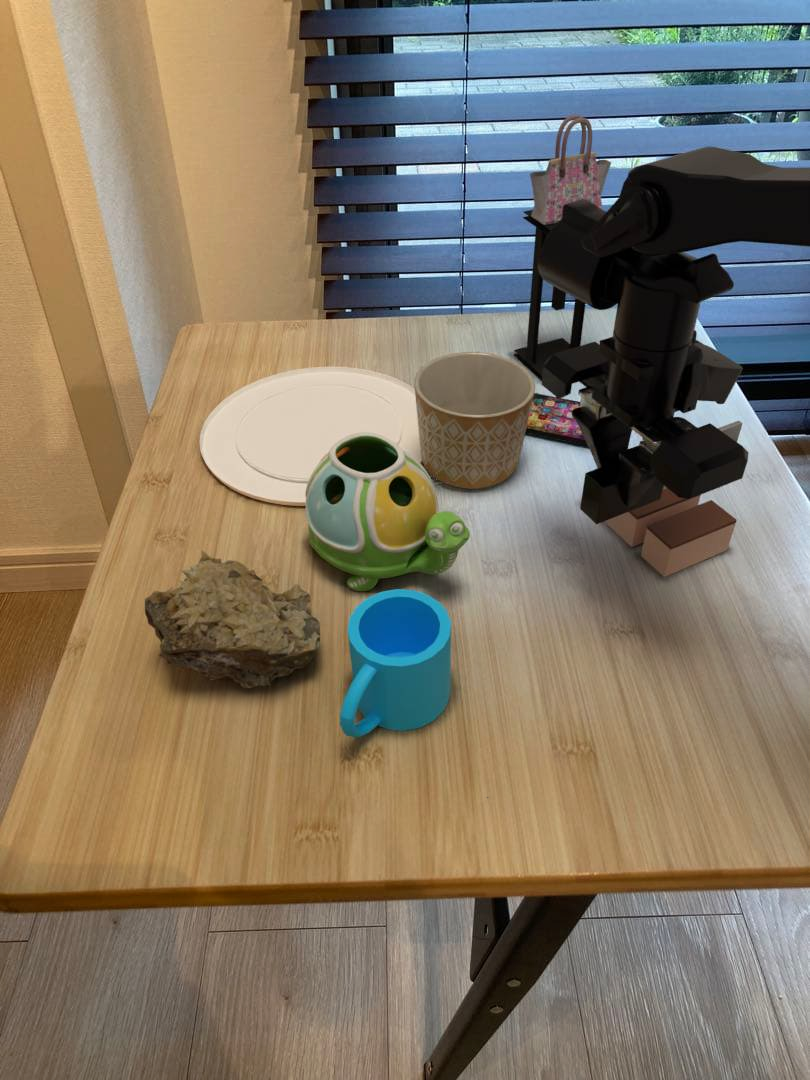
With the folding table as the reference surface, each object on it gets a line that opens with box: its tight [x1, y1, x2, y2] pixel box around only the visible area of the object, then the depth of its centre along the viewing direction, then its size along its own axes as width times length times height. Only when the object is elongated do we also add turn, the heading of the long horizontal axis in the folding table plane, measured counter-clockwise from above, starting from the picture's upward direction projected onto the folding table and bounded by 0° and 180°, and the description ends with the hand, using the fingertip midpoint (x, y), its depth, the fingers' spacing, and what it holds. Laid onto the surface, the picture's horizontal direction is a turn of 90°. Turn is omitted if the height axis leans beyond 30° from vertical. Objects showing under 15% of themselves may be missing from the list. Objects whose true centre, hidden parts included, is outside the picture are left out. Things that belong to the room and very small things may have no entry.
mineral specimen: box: [144, 549, 321, 689], centre depth 73 cm, size 14×13×10 cm
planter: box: [413, 351, 536, 489], centre depth 92 cm, size 13×13×10 cm
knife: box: [579, 420, 743, 525], centre depth 74 cm, size 16×2×4 cm, turn 117°
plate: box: [199, 366, 423, 507], centre depth 100 cm, size 28×28×1 cm
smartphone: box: [525, 392, 588, 447], centre depth 101 cm, size 8×1×15 cm
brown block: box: [640, 499, 738, 578], centre depth 82 cm, size 4×8×4 cm, turn 117°
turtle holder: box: [304, 432, 471, 592], centre depth 80 cm, size 12×18×12 cm
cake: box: [603, 488, 702, 548], centre depth 87 cm, size 8×8×4 cm
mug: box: [339, 588, 452, 739], centre depth 68 cm, size 12×8×8 cm
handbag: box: [513, 114, 612, 382], centre depth 102 cm, size 10×8×30 cm
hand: (621, 495), depth 73 cm, fingers closed on knife, 2 cm apart
